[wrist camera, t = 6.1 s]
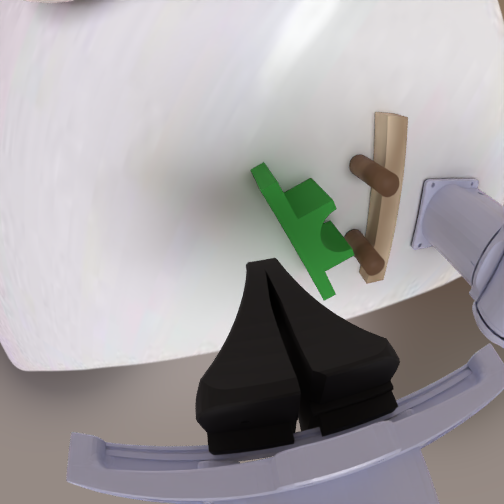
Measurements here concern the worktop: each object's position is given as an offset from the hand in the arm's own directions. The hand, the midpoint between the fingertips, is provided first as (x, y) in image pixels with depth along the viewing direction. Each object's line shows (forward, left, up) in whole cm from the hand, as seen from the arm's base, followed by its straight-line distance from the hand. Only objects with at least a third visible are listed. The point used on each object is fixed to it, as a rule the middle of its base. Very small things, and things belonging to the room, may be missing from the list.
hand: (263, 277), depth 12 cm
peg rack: (-10, +2, -10) cm, 14 cm away
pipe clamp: (-5, +2, -10) cm, 11 cm away
